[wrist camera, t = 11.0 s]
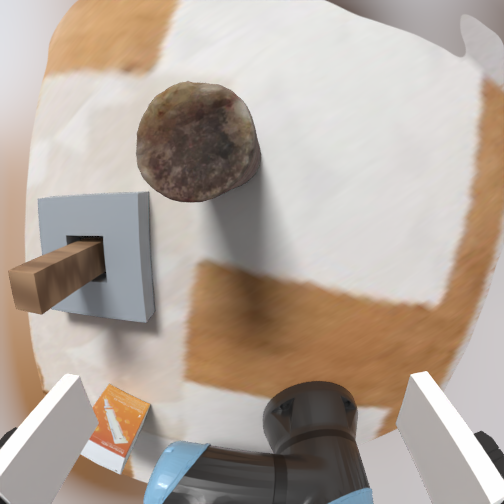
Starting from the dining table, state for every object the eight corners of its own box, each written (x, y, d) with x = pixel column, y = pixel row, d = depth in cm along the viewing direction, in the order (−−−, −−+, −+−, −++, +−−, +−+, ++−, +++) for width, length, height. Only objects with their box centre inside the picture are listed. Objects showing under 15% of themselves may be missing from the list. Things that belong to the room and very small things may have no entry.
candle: (239, 201, 35) (211, 227, 16) (186, 170, 35) (104, 164, 15) (272, 146, 34) (286, 106, 14) (219, 116, 33) (172, 50, 14)
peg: (112, 266, 38) (41, 314, 22) (88, 265, 38) (16, 309, 23) (109, 238, 37) (33, 273, 22) (86, 237, 37) (8, 270, 22)
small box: (151, 403, 44) (126, 459, 31) (143, 423, 45) (121, 476, 32) (108, 382, 43) (74, 432, 30) (104, 403, 44) (74, 451, 32)
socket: (155, 311, 39) (146, 322, 36) (63, 300, 40) (51, 309, 36) (148, 191, 36) (137, 193, 32) (52, 196, 36) (37, 198, 32)
